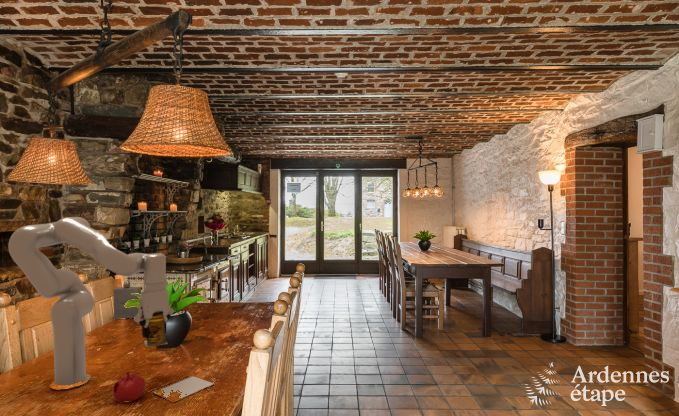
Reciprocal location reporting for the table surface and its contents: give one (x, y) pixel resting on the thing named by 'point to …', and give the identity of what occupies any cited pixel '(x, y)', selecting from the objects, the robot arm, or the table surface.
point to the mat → (186, 386)
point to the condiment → (156, 330)
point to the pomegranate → (129, 387)
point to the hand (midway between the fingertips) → (154, 334)
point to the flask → (122, 297)
